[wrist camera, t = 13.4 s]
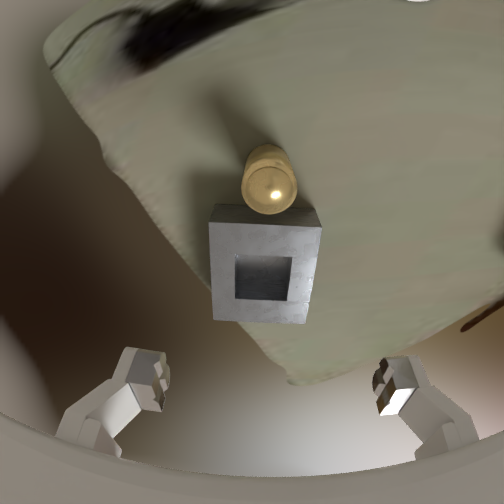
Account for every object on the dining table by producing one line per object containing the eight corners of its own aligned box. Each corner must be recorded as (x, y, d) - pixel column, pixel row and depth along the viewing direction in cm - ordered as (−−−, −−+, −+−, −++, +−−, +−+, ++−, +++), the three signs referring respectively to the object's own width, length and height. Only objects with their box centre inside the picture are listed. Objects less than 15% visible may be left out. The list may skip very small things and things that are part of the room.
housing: (215, 204, 36) (208, 222, 32) (315, 209, 36) (322, 227, 32) (217, 295, 44) (213, 319, 39) (301, 299, 44) (304, 323, 39)
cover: (246, 143, 33) (241, 162, 25) (291, 145, 32) (300, 165, 25) (245, 185, 35) (240, 215, 28) (288, 187, 35) (295, 218, 28)
